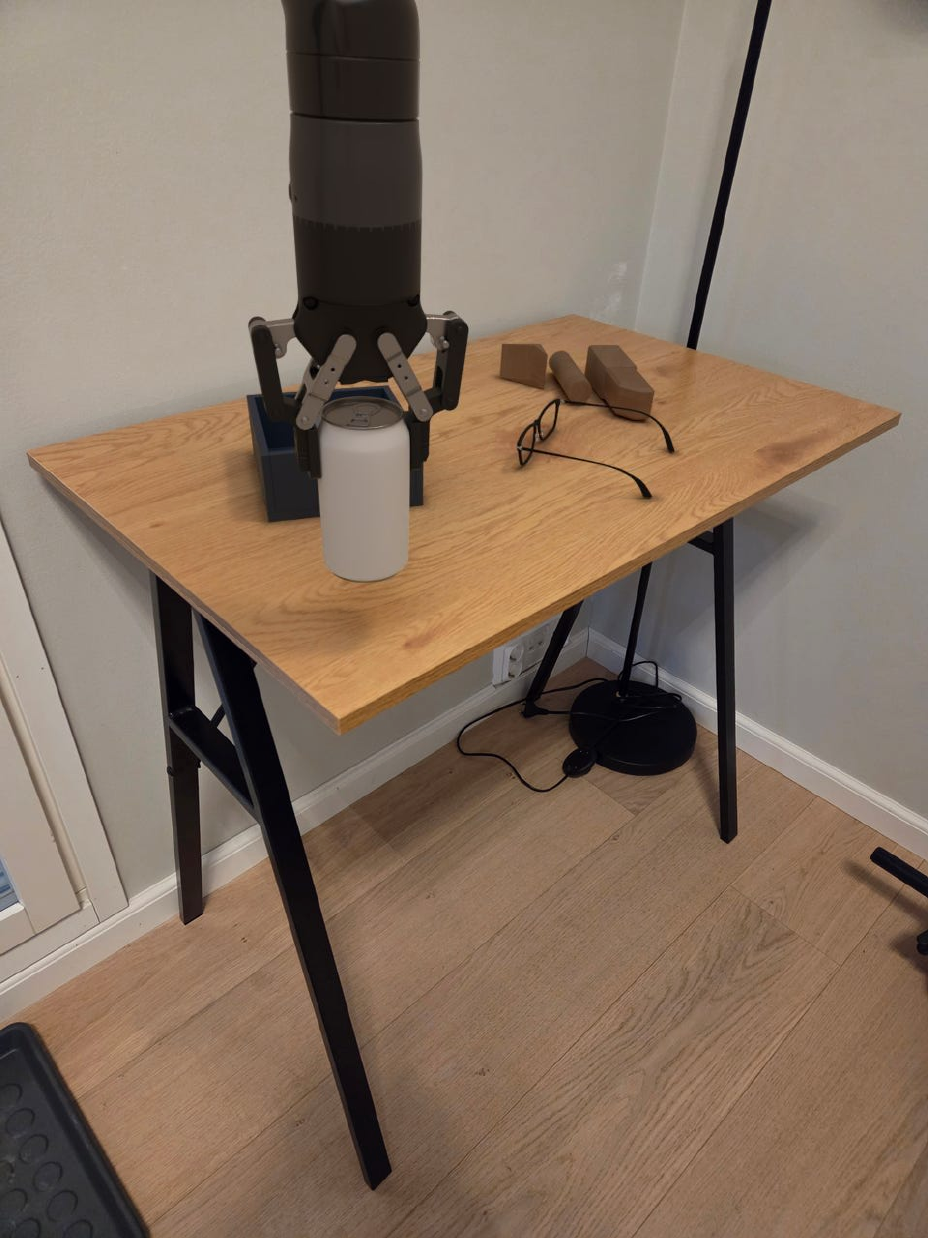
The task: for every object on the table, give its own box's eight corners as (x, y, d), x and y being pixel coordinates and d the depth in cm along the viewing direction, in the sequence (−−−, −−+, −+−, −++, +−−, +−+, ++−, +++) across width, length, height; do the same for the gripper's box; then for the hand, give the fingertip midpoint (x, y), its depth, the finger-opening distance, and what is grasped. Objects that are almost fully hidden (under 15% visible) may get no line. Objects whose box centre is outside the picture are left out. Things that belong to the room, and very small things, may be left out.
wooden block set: (618, 335, 112) (659, 380, 98) (612, 374, 115) (651, 423, 101) (501, 334, 110) (525, 380, 95) (498, 374, 113) (521, 424, 99)
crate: (268, 522, 77) (260, 455, 73) (253, 454, 89) (246, 394, 85) (423, 504, 81) (423, 441, 77) (389, 442, 93) (388, 384, 89)
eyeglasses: (552, 422, 100) (555, 392, 97) (677, 447, 95) (684, 415, 93) (507, 475, 87) (510, 441, 85) (648, 506, 83) (655, 471, 80)
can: (414, 544, 63) (416, 398, 56) (401, 589, 57) (402, 434, 50) (333, 536, 63) (326, 390, 56) (313, 581, 58) (302, 425, 51)
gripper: (234, 219, 41) (265, 505, 51) (495, 219, 45) (477, 484, 55) (225, 195, 47) (254, 456, 57) (456, 197, 51) (446, 440, 60)
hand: (364, 469), depth 56 cm, fingers closed on can, 6 cm apart
